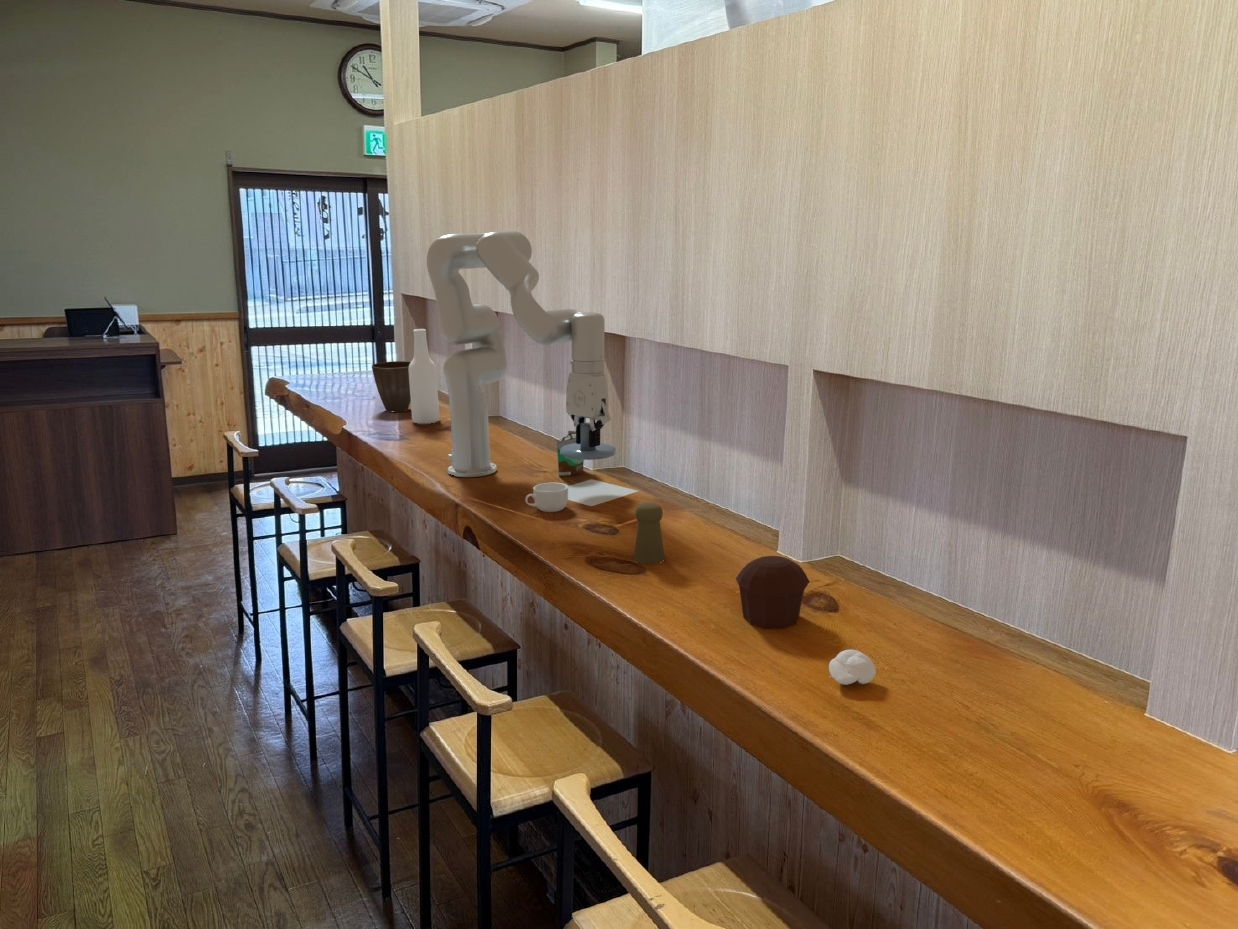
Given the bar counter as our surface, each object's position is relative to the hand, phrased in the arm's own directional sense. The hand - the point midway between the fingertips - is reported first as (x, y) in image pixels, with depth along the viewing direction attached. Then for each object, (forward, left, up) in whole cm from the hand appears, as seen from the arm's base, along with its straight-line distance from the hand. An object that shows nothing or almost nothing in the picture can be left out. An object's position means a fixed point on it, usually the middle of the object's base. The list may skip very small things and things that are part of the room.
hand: (588, 443), depth 221 cm
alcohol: (-99, +23, -12) cm, 103 cm away
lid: (0, 0, -2) cm, 2 cm away
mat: (+1, 0, -12) cm, 12 cm away
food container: (-15, +10, -12) cm, 22 cm away
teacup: (+3, -16, -12) cm, 20 cm away
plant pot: (-123, +28, -12) cm, 127 cm away
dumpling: (+95, -42, -12) cm, 104 cm away
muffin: (+74, -31, -12) cm, 81 cm away
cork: (+41, -24, -12) cm, 49 cm away
